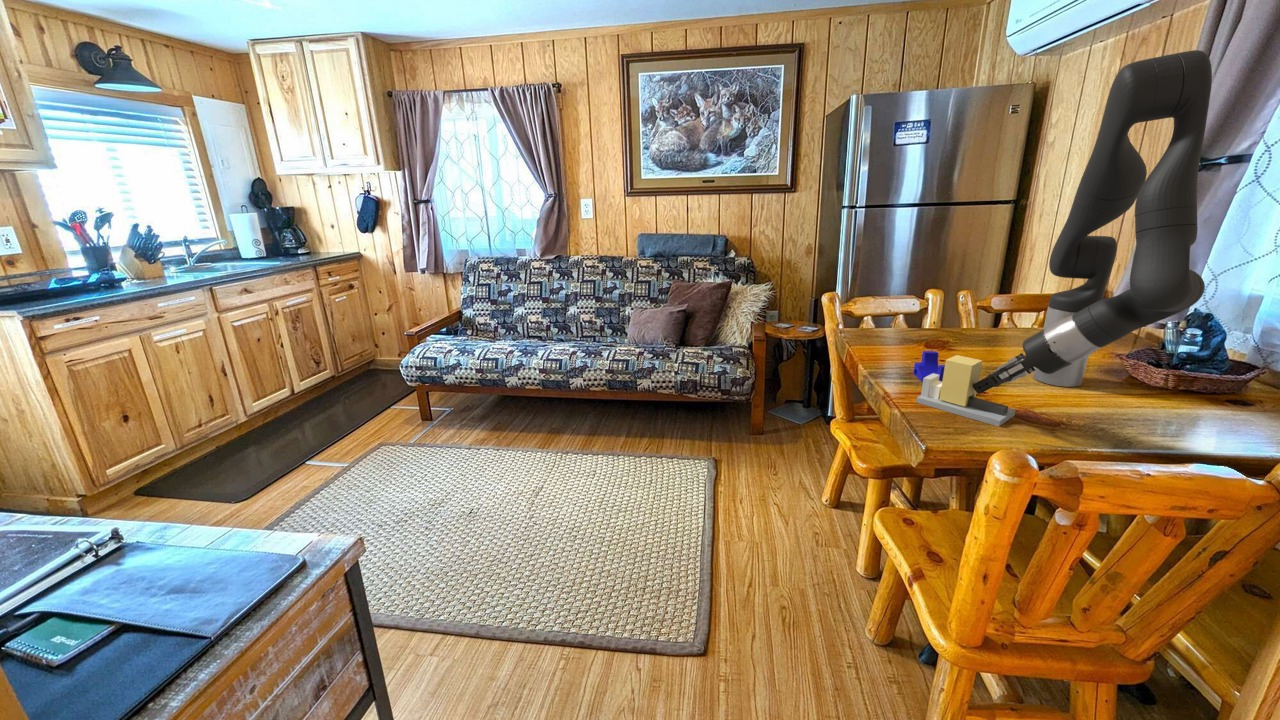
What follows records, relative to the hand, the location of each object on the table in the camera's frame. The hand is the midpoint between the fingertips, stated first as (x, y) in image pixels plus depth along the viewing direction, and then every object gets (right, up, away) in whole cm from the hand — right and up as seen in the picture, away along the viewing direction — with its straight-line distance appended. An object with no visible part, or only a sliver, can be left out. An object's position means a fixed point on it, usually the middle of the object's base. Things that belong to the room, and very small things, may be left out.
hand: (976, 389), depth 111 cm
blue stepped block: (0, 0, +18) cm, 18 cm away
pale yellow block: (-2, -2, +3) cm, 5 cm away
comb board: (-1, -4, +3) cm, 5 cm away
